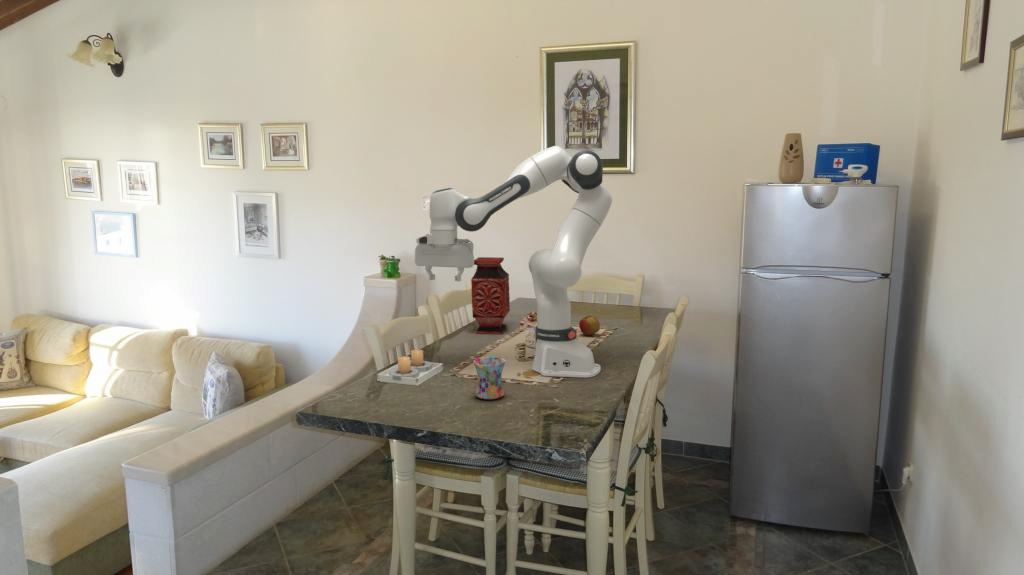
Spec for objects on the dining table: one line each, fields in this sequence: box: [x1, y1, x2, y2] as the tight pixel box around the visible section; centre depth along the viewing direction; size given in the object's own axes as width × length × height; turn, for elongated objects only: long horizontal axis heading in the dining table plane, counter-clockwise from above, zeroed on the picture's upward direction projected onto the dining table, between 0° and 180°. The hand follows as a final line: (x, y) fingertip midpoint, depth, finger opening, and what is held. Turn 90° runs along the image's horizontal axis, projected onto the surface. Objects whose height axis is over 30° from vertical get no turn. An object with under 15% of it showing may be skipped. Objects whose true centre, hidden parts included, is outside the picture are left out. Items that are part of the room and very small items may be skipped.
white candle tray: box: [376, 349, 444, 387], centre depth 216 cm, size 14×18×7 cm
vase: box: [471, 256, 511, 335], centre depth 276 cm, size 14×14×30 cm
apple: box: [578, 315, 601, 337], centre depth 269 cm, size 8×8×8 cm
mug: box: [472, 356, 506, 400], centre depth 196 cm, size 12×9×11 cm
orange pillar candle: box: [397, 355, 411, 374], centre depth 212 cm, size 4×4×6 cm
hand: (444, 280), depth 223 cm, fingers open, 8 cm apart
